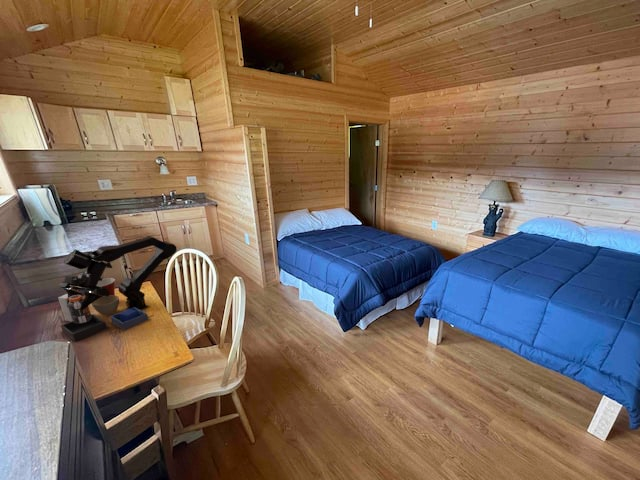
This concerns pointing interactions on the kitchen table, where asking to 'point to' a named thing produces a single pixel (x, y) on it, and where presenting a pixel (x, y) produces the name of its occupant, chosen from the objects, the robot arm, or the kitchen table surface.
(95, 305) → the gray bowl
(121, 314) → the blue block
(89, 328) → the charcoal bin
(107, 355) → the kitchen table surface
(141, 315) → the blue bin
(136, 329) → the kitchen table surface
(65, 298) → the cosmetic box
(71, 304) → the pill bottle
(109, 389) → the kitchen table surface
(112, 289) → the plastic cup
